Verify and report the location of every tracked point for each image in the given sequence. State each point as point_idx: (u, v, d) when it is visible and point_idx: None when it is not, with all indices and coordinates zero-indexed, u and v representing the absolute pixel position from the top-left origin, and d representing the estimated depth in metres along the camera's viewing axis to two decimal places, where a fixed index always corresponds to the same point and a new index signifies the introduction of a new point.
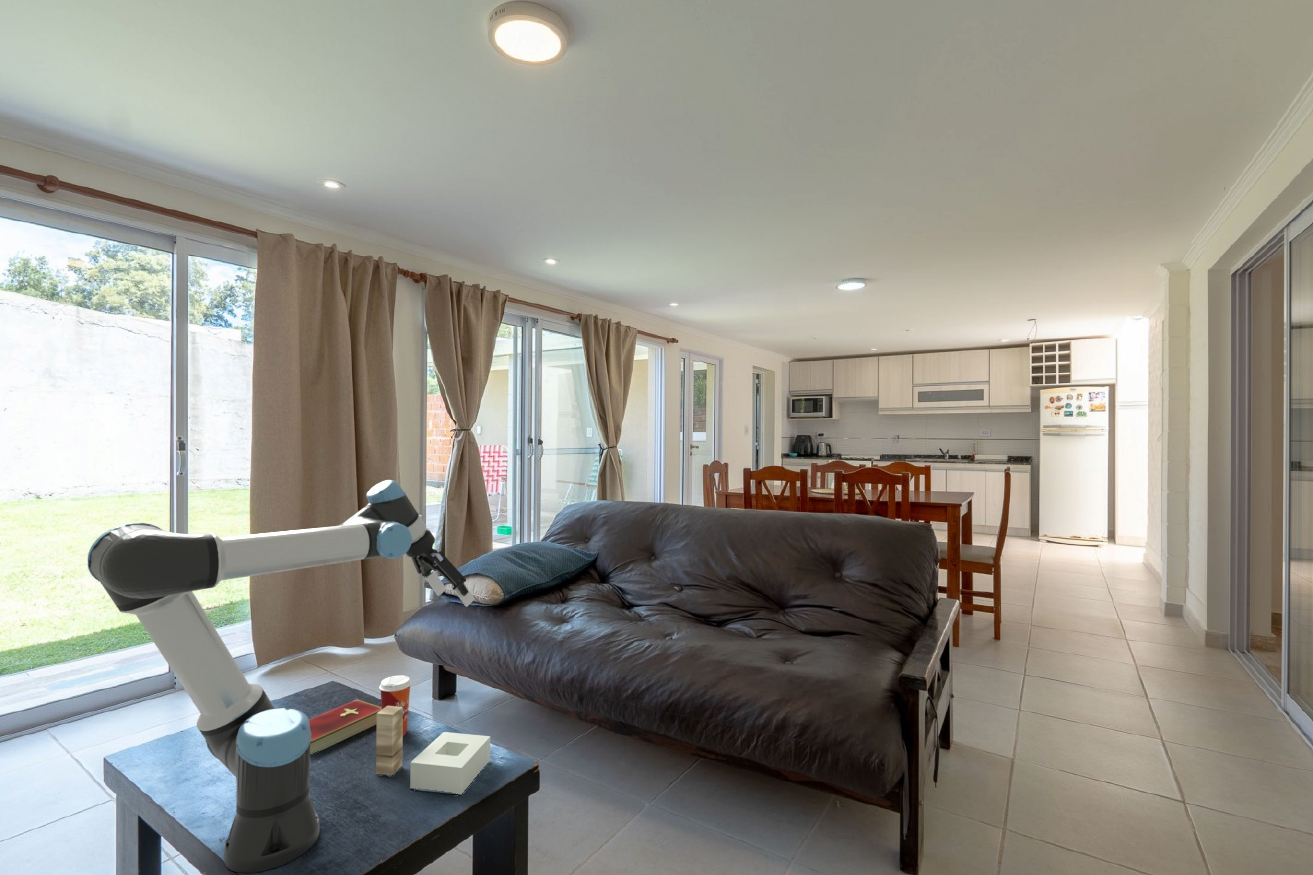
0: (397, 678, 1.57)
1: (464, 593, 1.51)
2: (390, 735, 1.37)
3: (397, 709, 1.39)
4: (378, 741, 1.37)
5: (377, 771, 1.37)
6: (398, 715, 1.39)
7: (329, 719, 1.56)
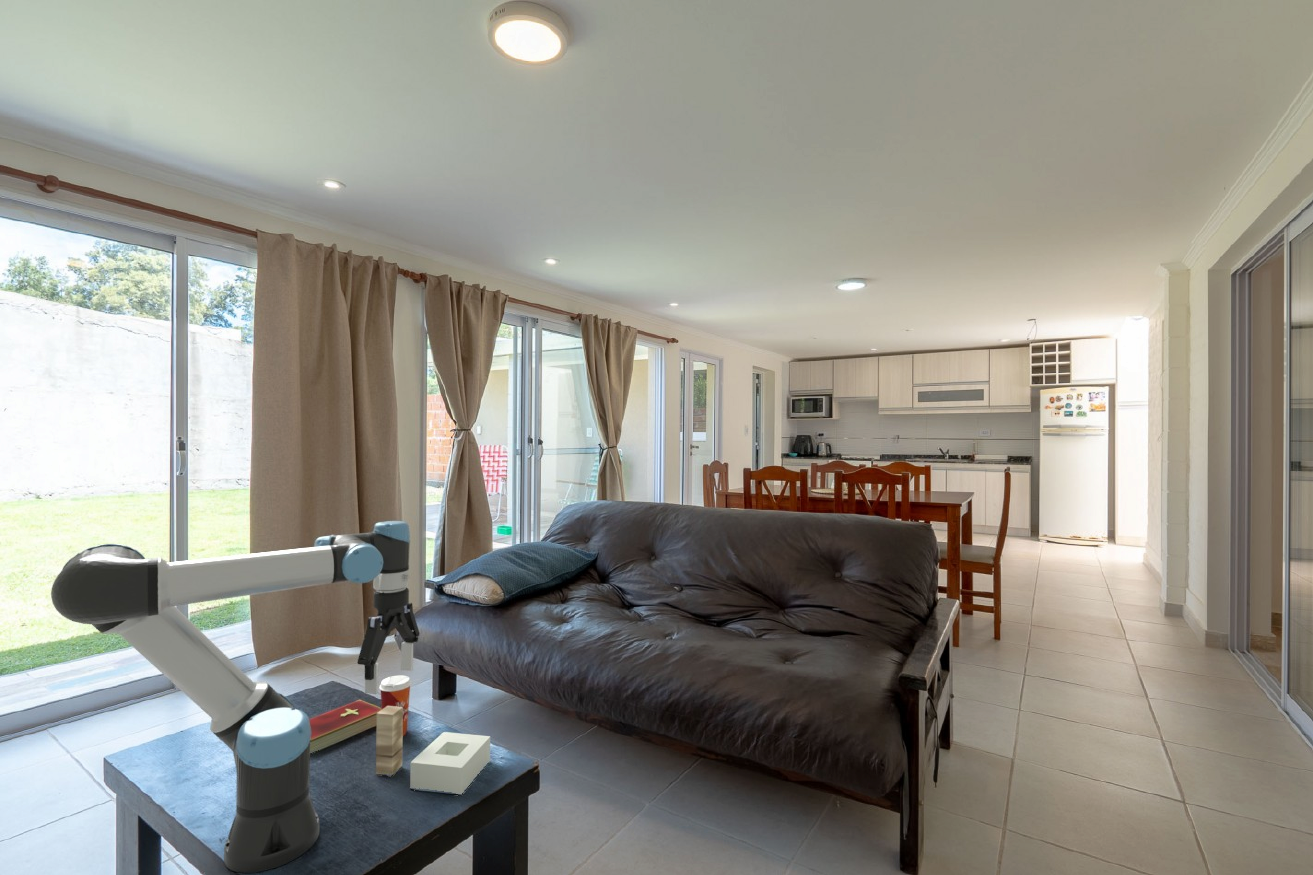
0: (397, 678, 1.57)
1: (365, 676, 1.31)
2: (390, 735, 1.37)
3: (397, 709, 1.39)
4: (378, 741, 1.37)
5: (377, 771, 1.37)
6: (398, 715, 1.39)
7: (329, 719, 1.56)
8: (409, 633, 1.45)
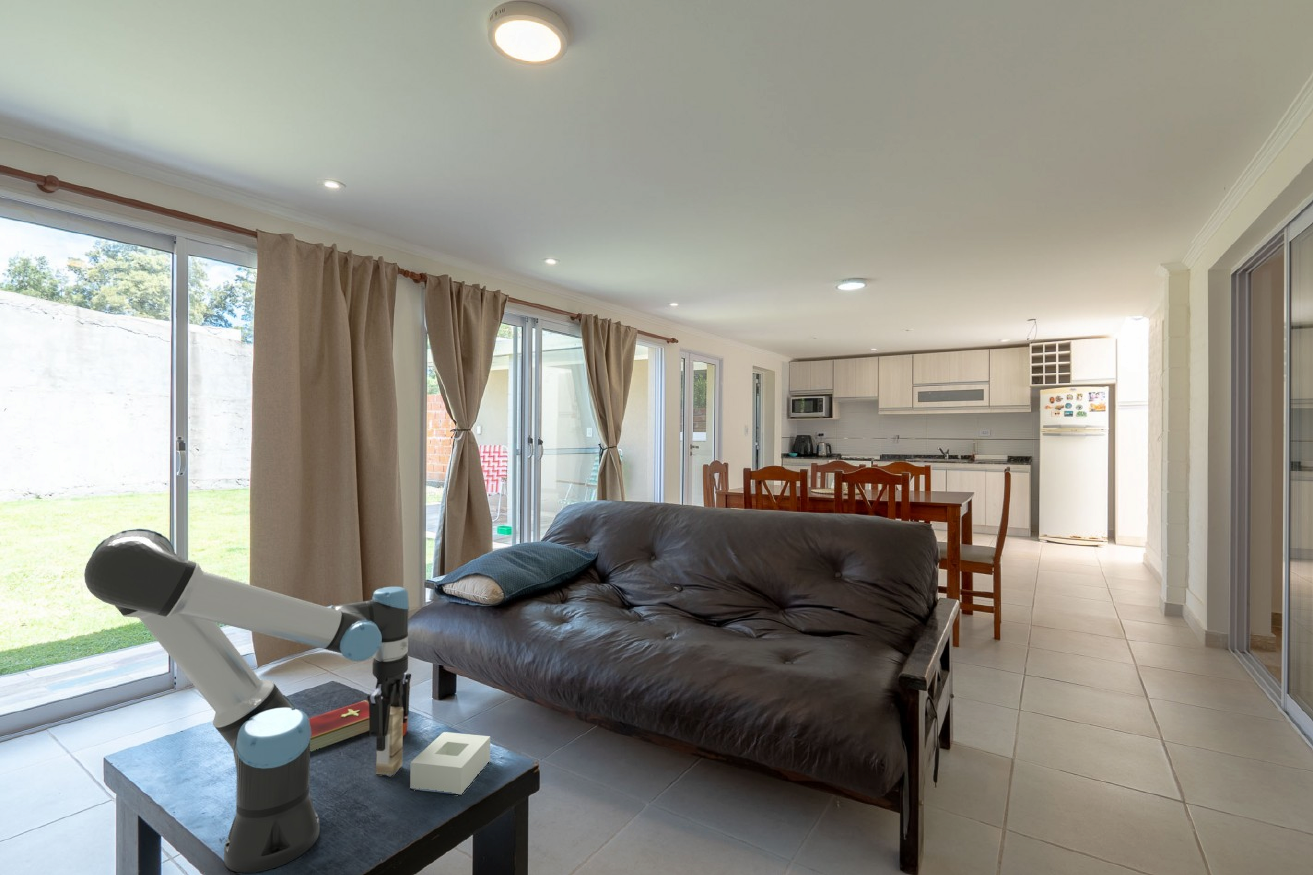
0: None
1: (377, 748, 1.35)
2: (390, 735, 1.37)
3: (397, 709, 1.39)
4: None
5: (377, 771, 1.37)
6: (398, 715, 1.39)
7: (329, 719, 1.57)
8: None
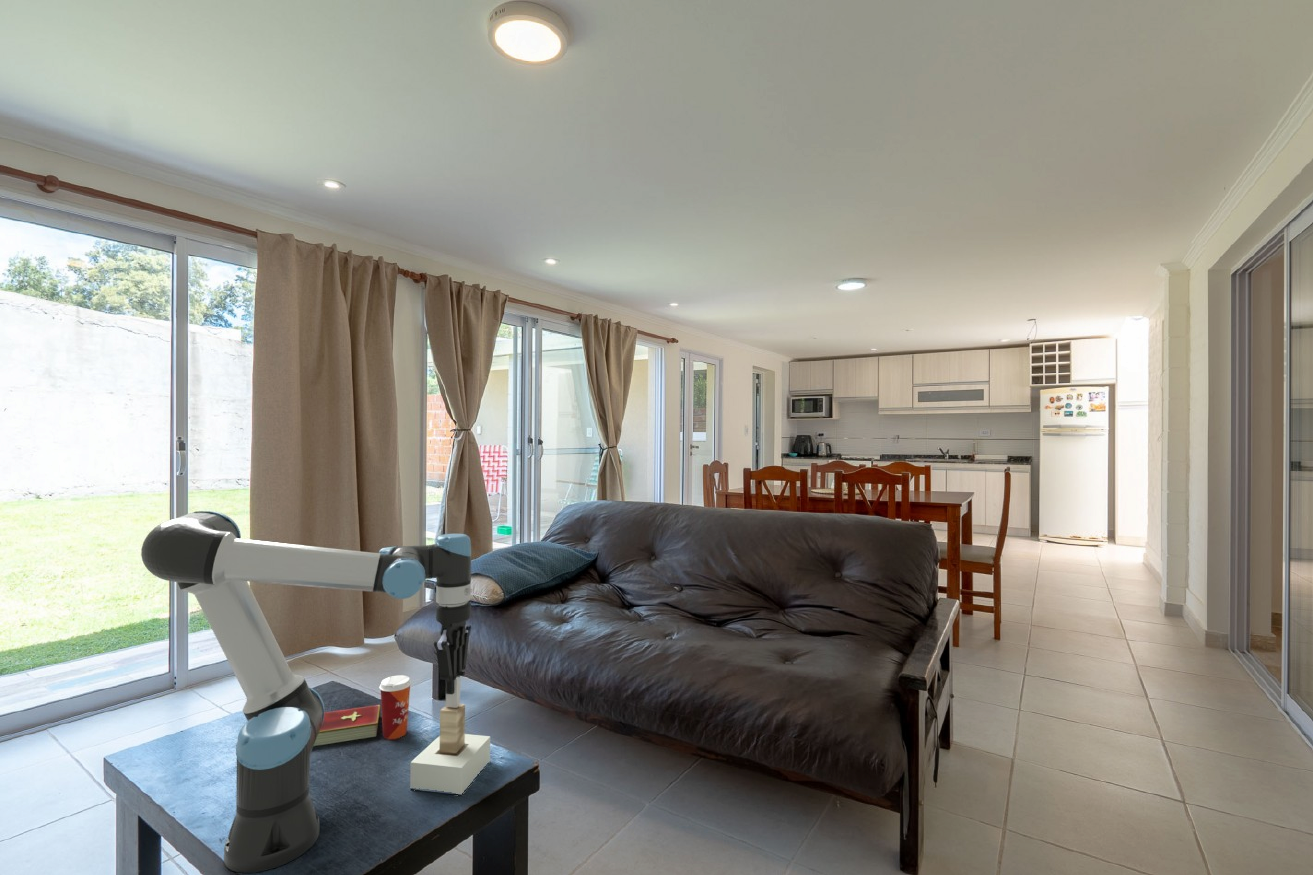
0: (397, 678, 1.57)
1: (447, 691, 1.36)
2: (454, 733, 1.35)
3: (460, 706, 1.38)
4: (441, 738, 1.36)
5: None
6: (461, 712, 1.38)
7: (330, 719, 1.57)
8: (460, 661, 1.38)
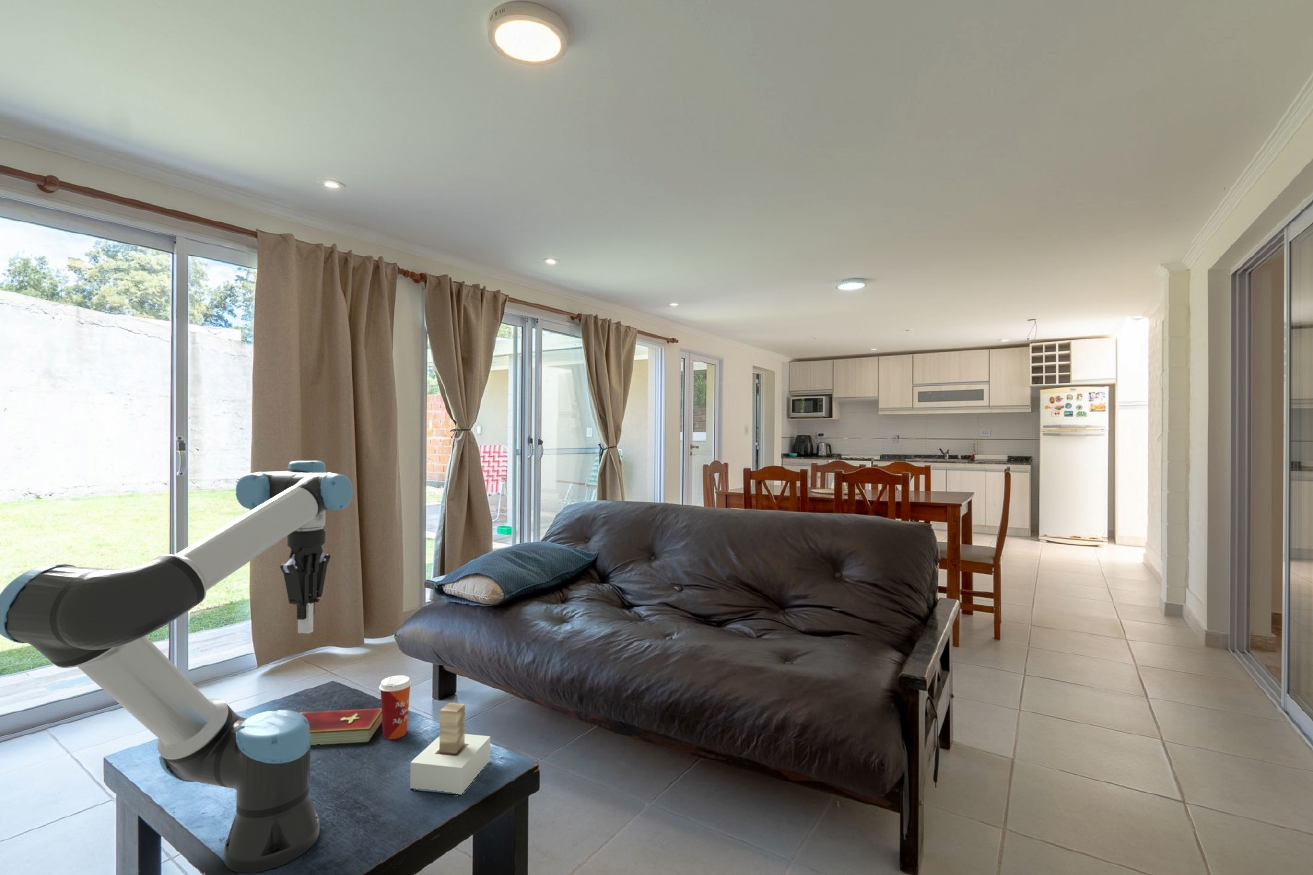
0: (397, 678, 1.57)
1: (298, 616, 1.35)
2: (454, 733, 1.35)
3: (460, 706, 1.38)
4: (441, 738, 1.36)
5: None
6: (461, 712, 1.38)
7: (331, 718, 1.57)
8: (313, 587, 1.38)
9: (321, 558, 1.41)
